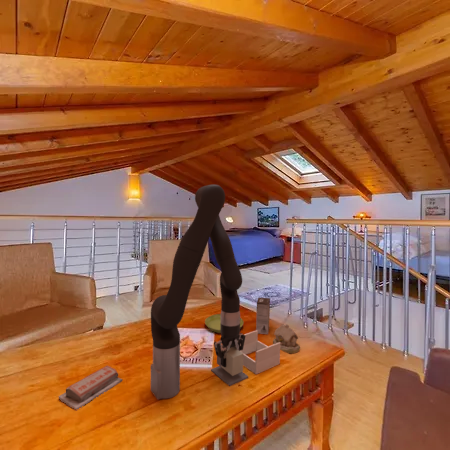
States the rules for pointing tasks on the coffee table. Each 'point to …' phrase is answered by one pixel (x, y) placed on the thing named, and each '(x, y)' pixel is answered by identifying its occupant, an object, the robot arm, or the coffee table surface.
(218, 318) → the saucer
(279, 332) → the ceramic model
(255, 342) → the carton
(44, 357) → the coffee table surface
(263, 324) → the coffee box
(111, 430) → the coffee table surface
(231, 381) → the mat
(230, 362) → the box
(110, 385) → the packaged product
